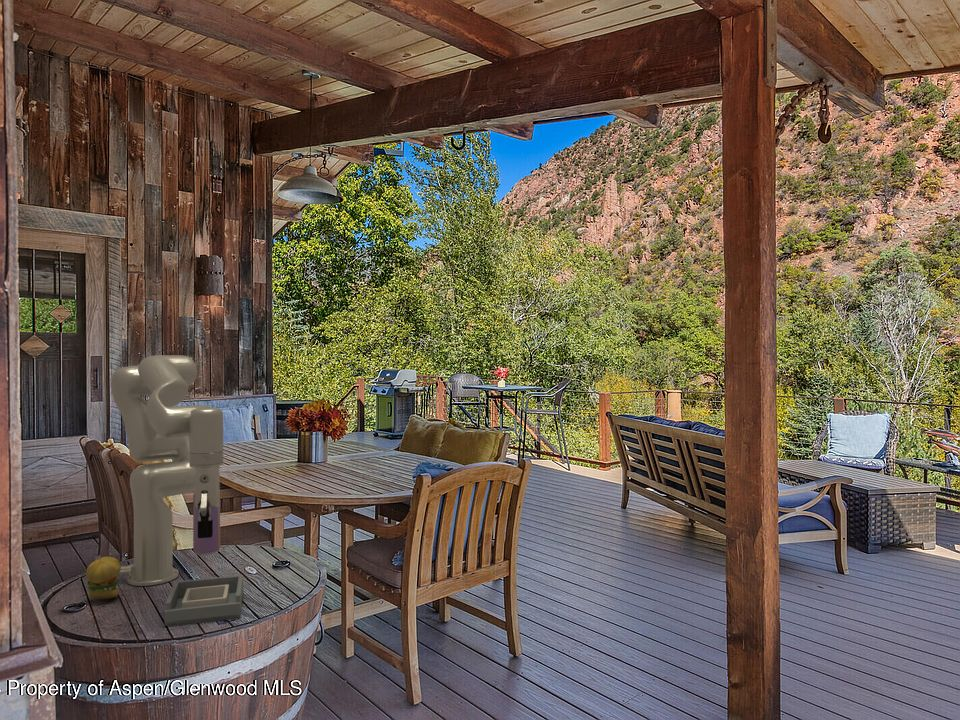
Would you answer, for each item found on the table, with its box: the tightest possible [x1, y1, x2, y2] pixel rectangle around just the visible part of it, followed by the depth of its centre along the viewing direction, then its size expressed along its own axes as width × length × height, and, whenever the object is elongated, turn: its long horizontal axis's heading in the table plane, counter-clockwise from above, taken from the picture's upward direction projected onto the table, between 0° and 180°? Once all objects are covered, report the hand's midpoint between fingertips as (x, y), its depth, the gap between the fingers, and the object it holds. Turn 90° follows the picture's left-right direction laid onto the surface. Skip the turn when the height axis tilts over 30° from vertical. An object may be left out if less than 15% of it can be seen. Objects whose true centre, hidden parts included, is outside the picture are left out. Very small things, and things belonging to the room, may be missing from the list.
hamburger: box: [85, 555, 122, 600], centre depth 160 cm, size 8×7×12 cm
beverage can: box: [192, 491, 221, 556], centre depth 154 cm, size 6×6×15 cm
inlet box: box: [163, 574, 244, 627], centre depth 154 cm, size 16×16×5 cm
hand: (206, 533), depth 154 cm, fingers closed on beverage can, 5 cm apart
